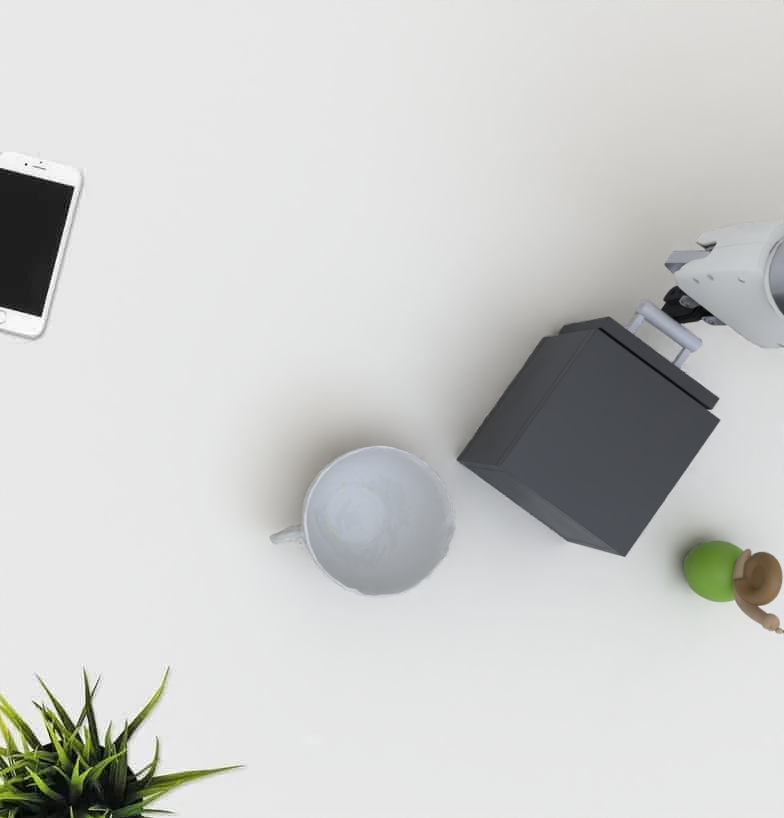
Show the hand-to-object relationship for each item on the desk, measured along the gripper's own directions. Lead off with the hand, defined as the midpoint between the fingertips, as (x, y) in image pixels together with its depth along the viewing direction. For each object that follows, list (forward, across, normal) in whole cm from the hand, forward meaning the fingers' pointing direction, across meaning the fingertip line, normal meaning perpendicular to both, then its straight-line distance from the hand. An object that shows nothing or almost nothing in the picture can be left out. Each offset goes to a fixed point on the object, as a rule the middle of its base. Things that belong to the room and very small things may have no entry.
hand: (674, 305), depth 87 cm
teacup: (+5, +12, +32) cm, 34 cm away
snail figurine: (+5, -18, +16) cm, 25 cm away
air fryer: (+5, 0, +14) cm, 15 cm away
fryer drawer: (+4, 0, +10) cm, 11 cm away
